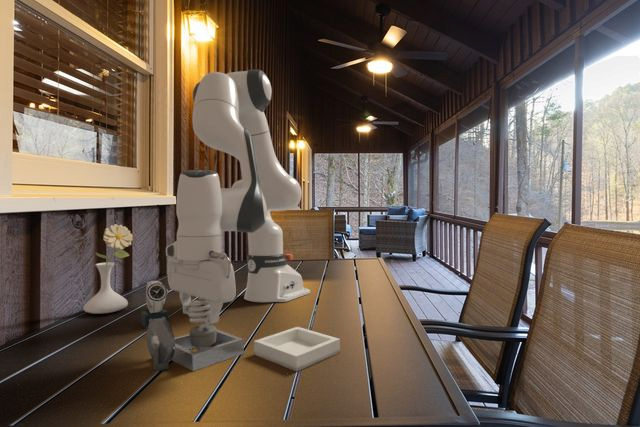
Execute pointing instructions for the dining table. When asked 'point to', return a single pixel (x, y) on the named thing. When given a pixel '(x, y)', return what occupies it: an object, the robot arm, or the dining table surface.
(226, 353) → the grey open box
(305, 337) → the tray
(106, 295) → the flower in vase
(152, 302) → the watch
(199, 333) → the light bulb
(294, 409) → the dining table surface
